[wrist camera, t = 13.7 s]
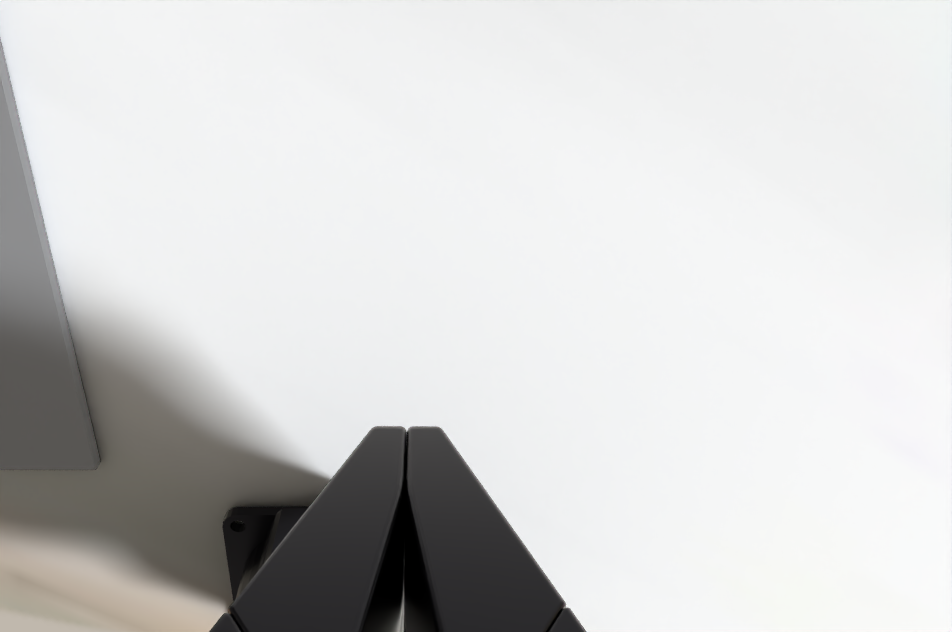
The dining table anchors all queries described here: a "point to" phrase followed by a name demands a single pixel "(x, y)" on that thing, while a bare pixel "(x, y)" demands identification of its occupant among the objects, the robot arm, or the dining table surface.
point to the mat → (34, 325)
